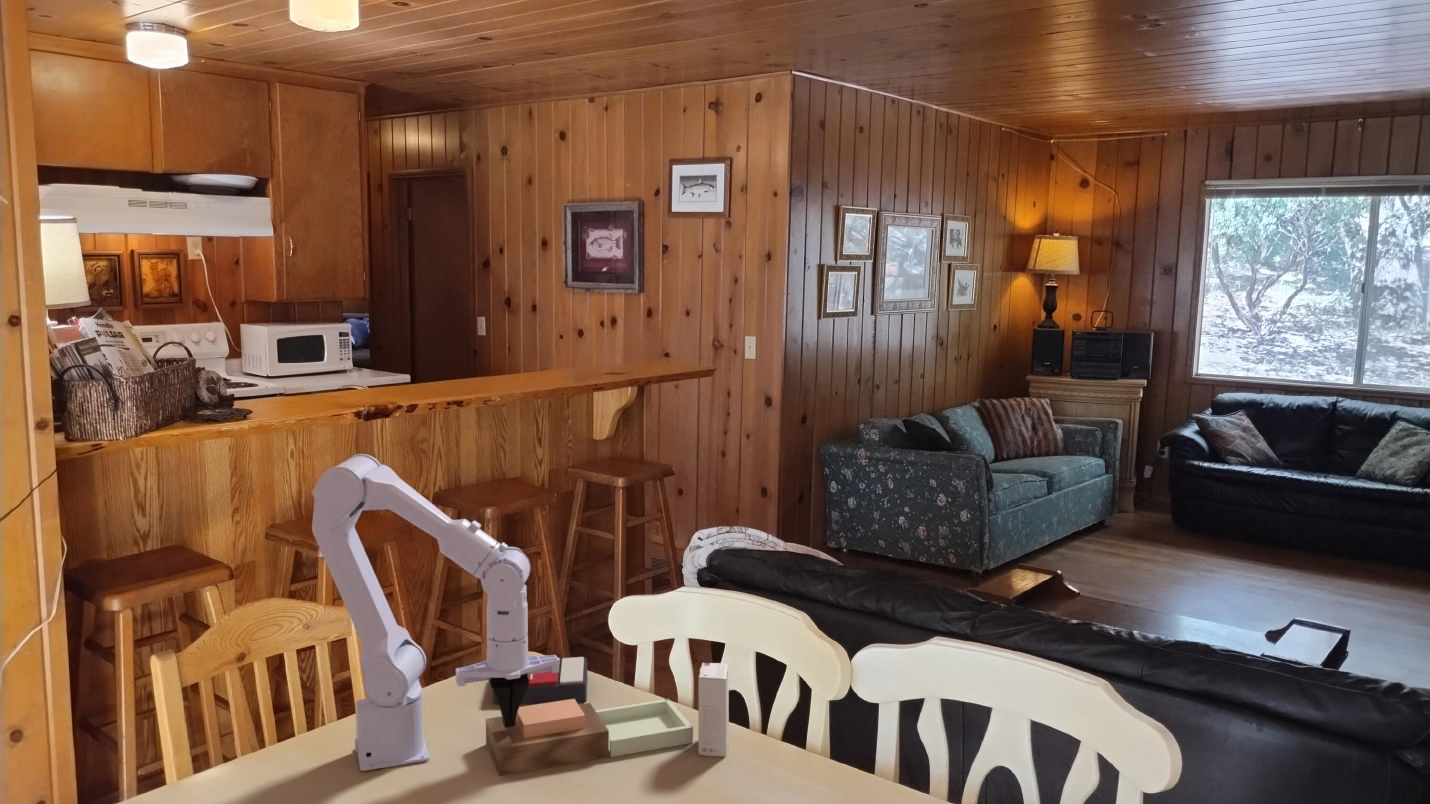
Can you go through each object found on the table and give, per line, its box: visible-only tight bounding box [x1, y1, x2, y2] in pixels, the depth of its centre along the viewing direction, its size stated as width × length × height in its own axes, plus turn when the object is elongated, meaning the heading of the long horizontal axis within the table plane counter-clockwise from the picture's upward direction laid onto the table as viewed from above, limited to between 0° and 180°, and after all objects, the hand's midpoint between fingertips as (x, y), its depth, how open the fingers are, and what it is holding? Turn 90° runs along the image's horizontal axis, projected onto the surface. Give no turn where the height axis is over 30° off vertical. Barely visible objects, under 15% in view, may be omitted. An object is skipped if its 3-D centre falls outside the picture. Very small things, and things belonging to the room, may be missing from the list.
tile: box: [516, 699, 585, 738], centre depth 155 cm, size 9×6×2 cm, turn 113°
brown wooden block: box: [485, 702, 610, 776], centre depth 155 cm, size 16×10×4 cm, turn 113°
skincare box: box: [697, 662, 730, 757], centre depth 157 cm, size 6×4×12 cm
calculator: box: [492, 656, 589, 706], centre depth 176 cm, size 11×4×15 cm
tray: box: [594, 698, 694, 758], centre depth 161 cm, size 13×11×2 cm
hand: (508, 724), depth 152 cm, fingers closed
